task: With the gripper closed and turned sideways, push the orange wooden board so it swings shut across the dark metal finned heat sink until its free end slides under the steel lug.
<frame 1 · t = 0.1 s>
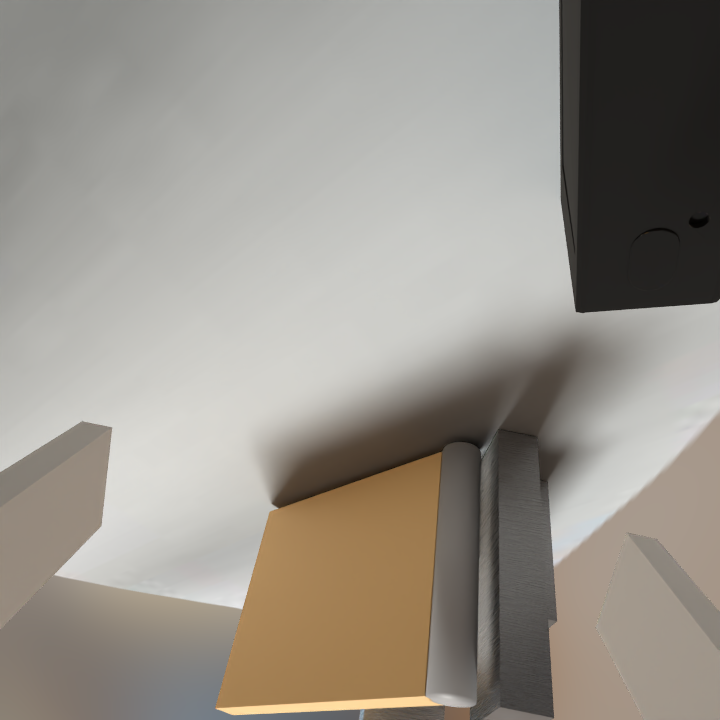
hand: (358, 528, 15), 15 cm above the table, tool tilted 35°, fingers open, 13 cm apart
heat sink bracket: (474, 523, 45), on the table
digital camera: (643, 54, 20), on the table
orange wooden board: (347, 582, 38), point 8 cm above the table, hinge at -40.0°
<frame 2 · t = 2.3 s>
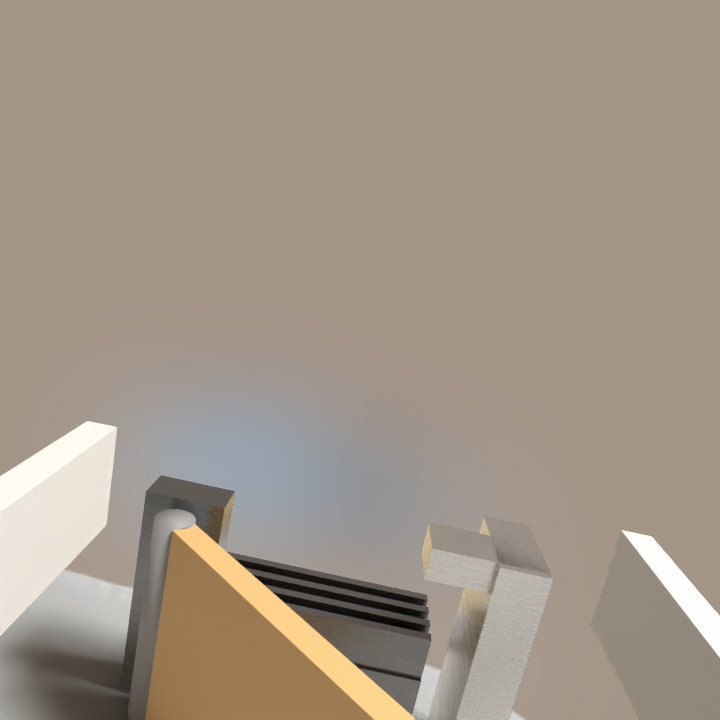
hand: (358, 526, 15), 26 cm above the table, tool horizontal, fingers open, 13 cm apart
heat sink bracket: (296, 706, 42), on the table
orange wooden board: (239, 709, 32), point 7 cm above the table, hinge at -40.0°
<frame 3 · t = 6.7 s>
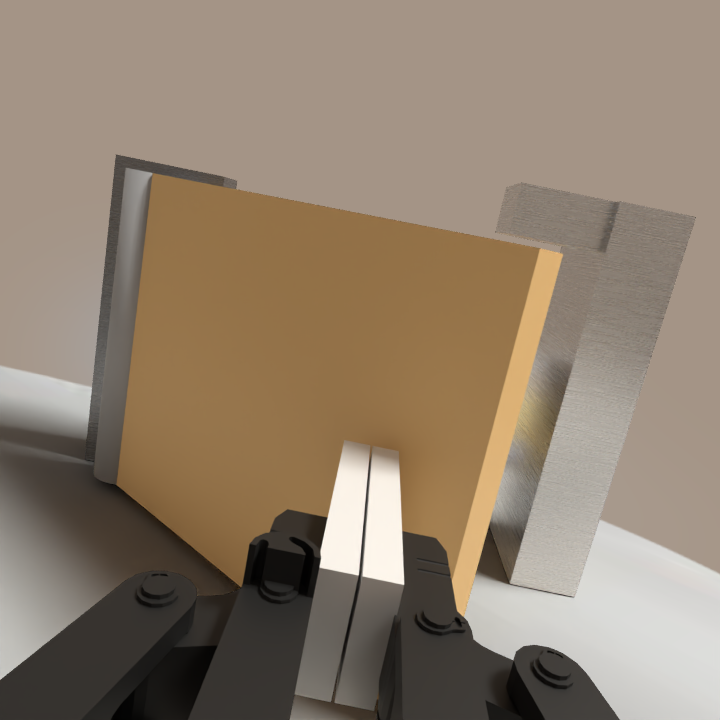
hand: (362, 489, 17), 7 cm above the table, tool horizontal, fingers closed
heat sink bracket: (320, 490, 32), on the table
orange wooden board: (256, 391, 22), point 8 cm above the table, hinge at -37.8°
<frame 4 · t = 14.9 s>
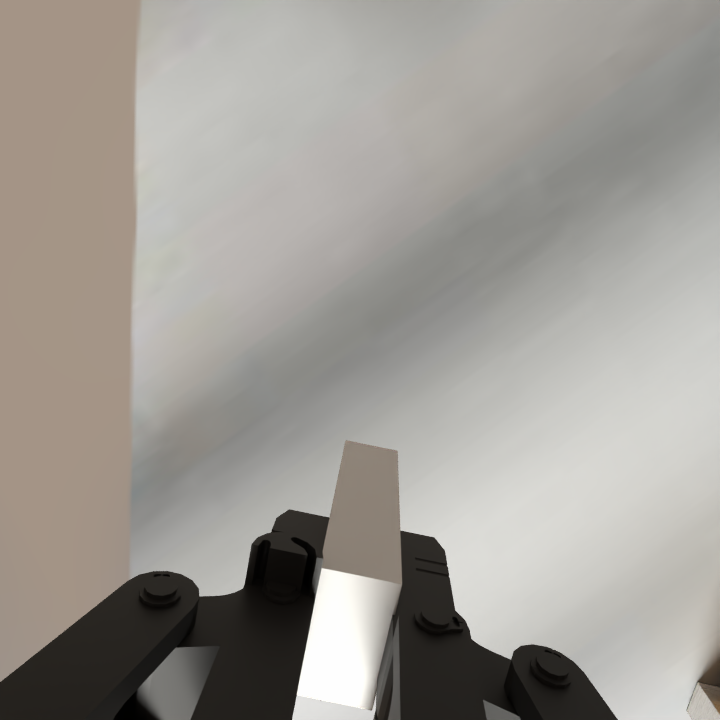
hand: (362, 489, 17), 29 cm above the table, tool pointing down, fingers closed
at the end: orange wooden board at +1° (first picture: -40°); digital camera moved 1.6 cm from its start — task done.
